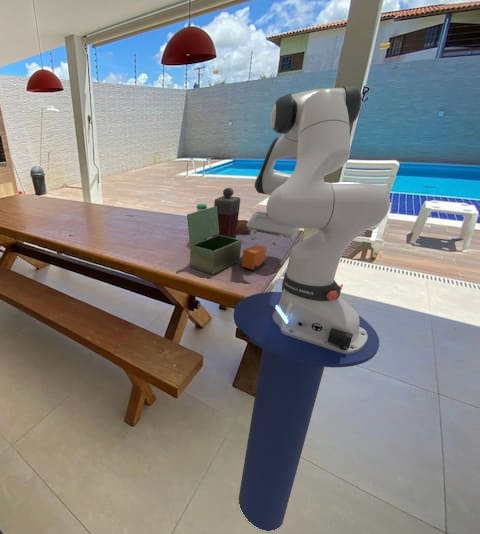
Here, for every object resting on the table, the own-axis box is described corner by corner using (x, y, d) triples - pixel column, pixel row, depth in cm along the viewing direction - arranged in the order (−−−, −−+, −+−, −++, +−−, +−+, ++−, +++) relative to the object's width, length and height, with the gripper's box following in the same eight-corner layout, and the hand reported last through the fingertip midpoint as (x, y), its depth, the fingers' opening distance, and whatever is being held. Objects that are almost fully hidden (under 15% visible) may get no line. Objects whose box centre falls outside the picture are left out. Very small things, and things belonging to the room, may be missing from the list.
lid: (217, 205, 135) (215, 206, 136) (188, 214, 124) (186, 214, 125) (219, 233, 139) (217, 233, 139) (191, 244, 127) (189, 244, 128)
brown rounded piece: (221, 234, 169) (222, 220, 166) (221, 232, 172) (222, 218, 168) (250, 236, 165) (252, 221, 161) (250, 234, 167) (252, 219, 164)
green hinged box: (239, 261, 134) (241, 240, 131) (212, 274, 123) (214, 251, 120) (216, 254, 143) (218, 234, 139) (189, 266, 132) (190, 245, 128)
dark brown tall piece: (237, 241, 157) (244, 186, 145) (227, 248, 149) (233, 190, 137) (221, 238, 162) (226, 184, 150) (210, 244, 155) (215, 188, 143)
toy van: (264, 265, 129) (266, 247, 126) (252, 271, 124) (255, 253, 121) (252, 262, 133) (254, 244, 129) (241, 268, 128) (243, 250, 124)
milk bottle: (189, 243, 159) (190, 205, 151) (197, 238, 164) (199, 202, 155) (202, 246, 154) (204, 207, 146) (210, 242, 159) (213, 204, 150)
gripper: (252, 206, 135) (238, 233, 133) (302, 213, 120) (286, 243, 118) (256, 214, 139) (242, 240, 137) (305, 222, 124) (289, 251, 123)
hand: (263, 241), depth 128 cm, fingers open, 8 cm apart
